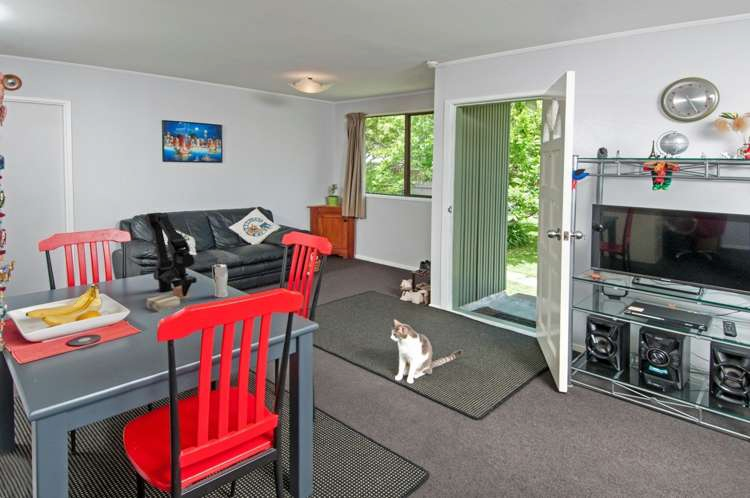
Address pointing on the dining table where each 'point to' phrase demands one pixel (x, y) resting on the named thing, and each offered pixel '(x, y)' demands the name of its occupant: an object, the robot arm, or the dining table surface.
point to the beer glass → (220, 279)
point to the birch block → (163, 302)
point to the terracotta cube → (179, 292)
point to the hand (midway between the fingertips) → (181, 295)
